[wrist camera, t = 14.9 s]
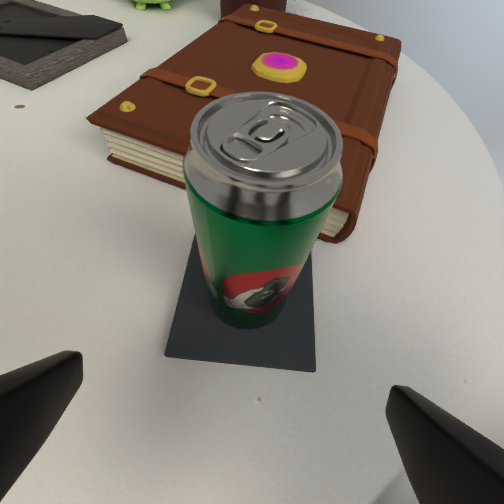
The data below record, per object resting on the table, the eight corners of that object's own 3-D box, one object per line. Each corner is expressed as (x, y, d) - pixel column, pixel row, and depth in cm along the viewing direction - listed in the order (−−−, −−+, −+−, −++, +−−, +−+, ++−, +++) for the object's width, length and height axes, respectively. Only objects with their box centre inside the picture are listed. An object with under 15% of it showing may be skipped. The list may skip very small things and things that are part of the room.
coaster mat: (309, 248, 20) (311, 244, 20) (313, 372, 16) (316, 371, 15) (196, 235, 20) (195, 231, 20) (165, 357, 16) (164, 355, 15)
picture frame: (127, 41, 37) (20, 7, 41) (122, 23, 35) (10, -11, 39) (31, 90, 29) (-91, 42, 33) (19, 70, 27) (-109, 22, 31)
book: (105, 161, 24) (78, 107, 20) (243, 40, 40) (244, -5, 36) (344, 249, 21) (373, 207, 16) (390, 78, 36) (411, 34, 32)
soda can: (299, 292, 18) (388, 132, 8) (250, 349, 16) (285, 234, 5) (244, 249, 19) (257, 68, 9) (193, 296, 17) (135, 127, 7)
